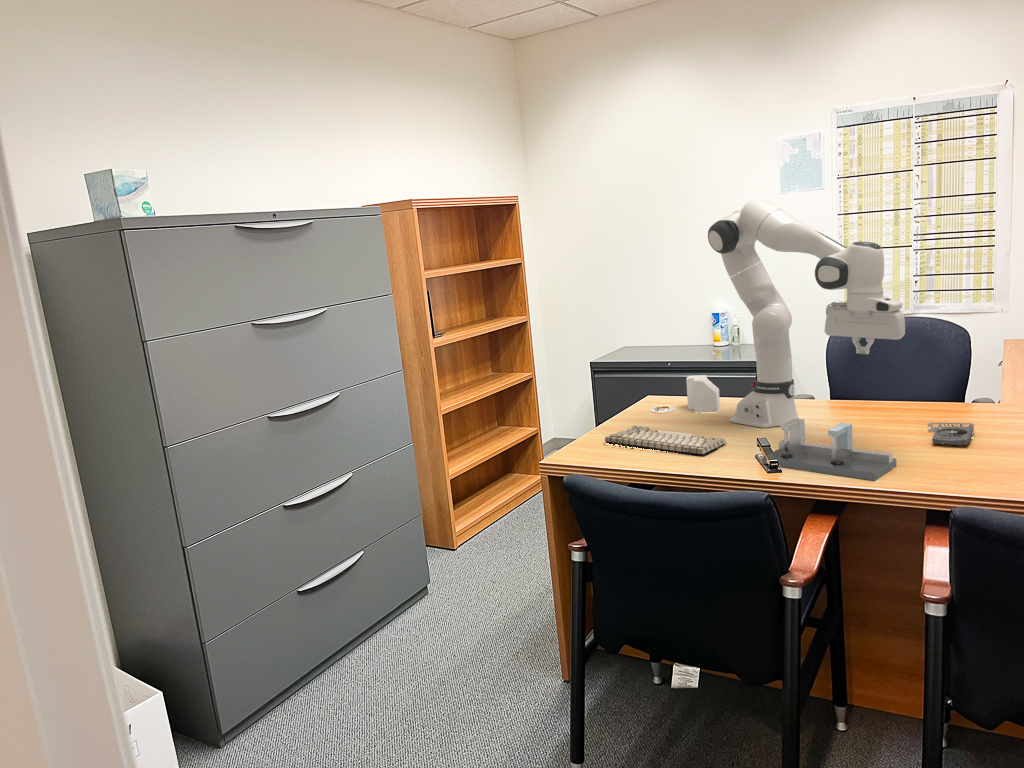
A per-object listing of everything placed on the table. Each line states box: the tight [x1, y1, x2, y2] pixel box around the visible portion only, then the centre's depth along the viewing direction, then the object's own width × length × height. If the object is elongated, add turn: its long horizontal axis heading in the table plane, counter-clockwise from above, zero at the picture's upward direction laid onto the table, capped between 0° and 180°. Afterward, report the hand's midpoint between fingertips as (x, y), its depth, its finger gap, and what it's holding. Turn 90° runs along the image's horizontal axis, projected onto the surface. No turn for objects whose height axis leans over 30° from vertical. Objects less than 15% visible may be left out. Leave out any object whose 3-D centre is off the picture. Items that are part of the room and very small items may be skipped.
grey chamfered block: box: [685, 374, 721, 413], centre depth 277 cm, size 11×11×12 cm
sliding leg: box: [827, 422, 854, 459], centre depth 198 cm, size 3×8×8 cm, turn 133°
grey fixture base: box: [762, 418, 897, 482], centre depth 200 cm, size 30×14×11 cm, turn 43°
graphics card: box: [927, 421, 975, 447], centre depth 212 cm, size 17×4×12 cm
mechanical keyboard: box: [604, 425, 727, 458], centre depth 238 cm, size 38×19×3 cm, turn 47°
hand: (862, 353), depth 204 cm, fingers closed
